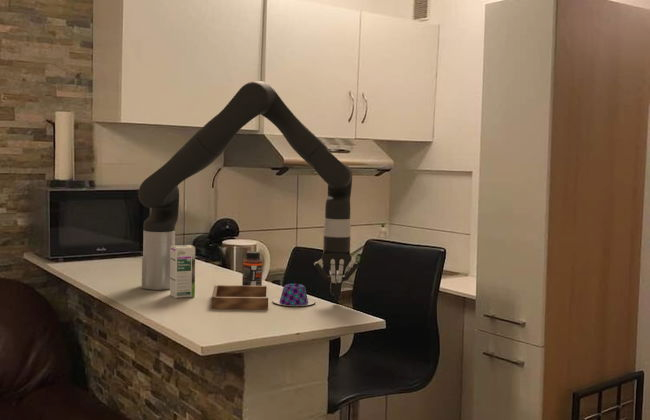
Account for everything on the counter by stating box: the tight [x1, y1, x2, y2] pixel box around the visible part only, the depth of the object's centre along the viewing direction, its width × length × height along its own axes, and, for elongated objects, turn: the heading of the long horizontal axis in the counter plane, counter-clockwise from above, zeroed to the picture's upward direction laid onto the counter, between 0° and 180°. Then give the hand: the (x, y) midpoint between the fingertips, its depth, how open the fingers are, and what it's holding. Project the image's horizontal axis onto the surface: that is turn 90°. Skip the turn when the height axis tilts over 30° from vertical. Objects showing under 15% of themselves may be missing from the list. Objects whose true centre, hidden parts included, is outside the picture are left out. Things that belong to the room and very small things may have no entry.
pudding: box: [272, 283, 316, 307], centre depth 204 cm, size 12×12×5 cm
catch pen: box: [211, 284, 269, 310], centre depth 202 cm, size 15×17×3 cm
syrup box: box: [169, 244, 196, 299], centre depth 208 cm, size 6×6×14 cm
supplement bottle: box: [241, 250, 263, 286], centre depth 222 cm, size 6×6×11 cm
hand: (335, 295), depth 205 cm, fingers closed
